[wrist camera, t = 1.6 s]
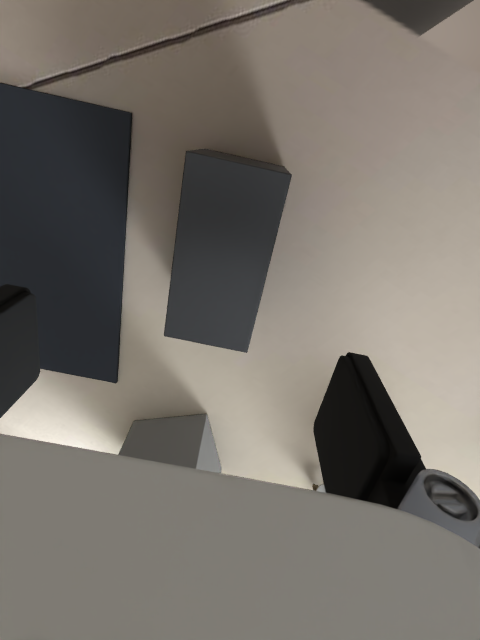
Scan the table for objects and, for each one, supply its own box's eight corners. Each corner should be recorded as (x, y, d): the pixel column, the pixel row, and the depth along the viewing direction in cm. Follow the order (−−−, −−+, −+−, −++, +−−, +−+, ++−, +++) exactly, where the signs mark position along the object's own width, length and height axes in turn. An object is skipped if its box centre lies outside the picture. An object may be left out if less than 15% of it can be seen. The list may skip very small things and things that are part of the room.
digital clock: (202, 148, 22) (182, 150, 16) (284, 166, 22) (292, 174, 16) (181, 295, 26) (161, 335, 21) (250, 310, 26) (247, 353, 21)
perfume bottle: (154, 473, 35) (62, 757, 19) (133, 420, 32) (4, 705, 16) (221, 467, 34) (186, 760, 18) (206, 413, 31) (148, 706, 15)
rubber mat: (-110, 57, 20) (-115, 56, 20) (132, 113, 21) (130, 112, 21) (-51, 348, 29) (-54, 350, 29) (117, 381, 30) (116, 383, 30)
